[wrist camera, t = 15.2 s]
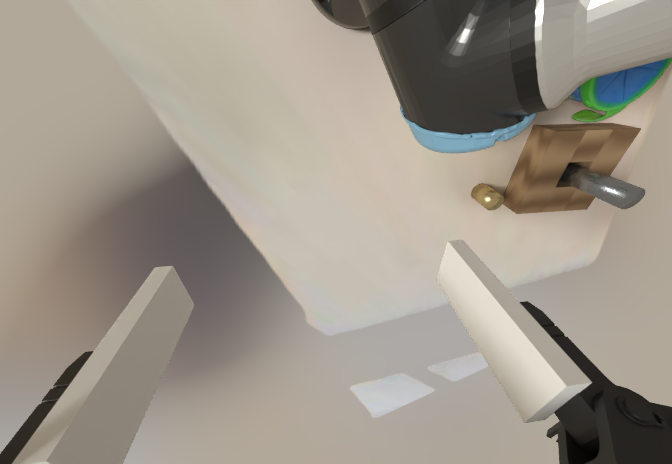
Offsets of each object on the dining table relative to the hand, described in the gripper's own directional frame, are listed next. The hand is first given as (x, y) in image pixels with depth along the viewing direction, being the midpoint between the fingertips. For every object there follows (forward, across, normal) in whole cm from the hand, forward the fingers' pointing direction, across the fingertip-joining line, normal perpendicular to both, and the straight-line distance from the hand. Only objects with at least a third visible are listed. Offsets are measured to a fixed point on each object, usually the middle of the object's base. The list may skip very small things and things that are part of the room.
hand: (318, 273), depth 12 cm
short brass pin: (+35, +35, -14) cm, 52 cm away
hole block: (+35, +49, -10) cm, 61 cm away
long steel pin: (+35, +49, -10) cm, 61 cm away
